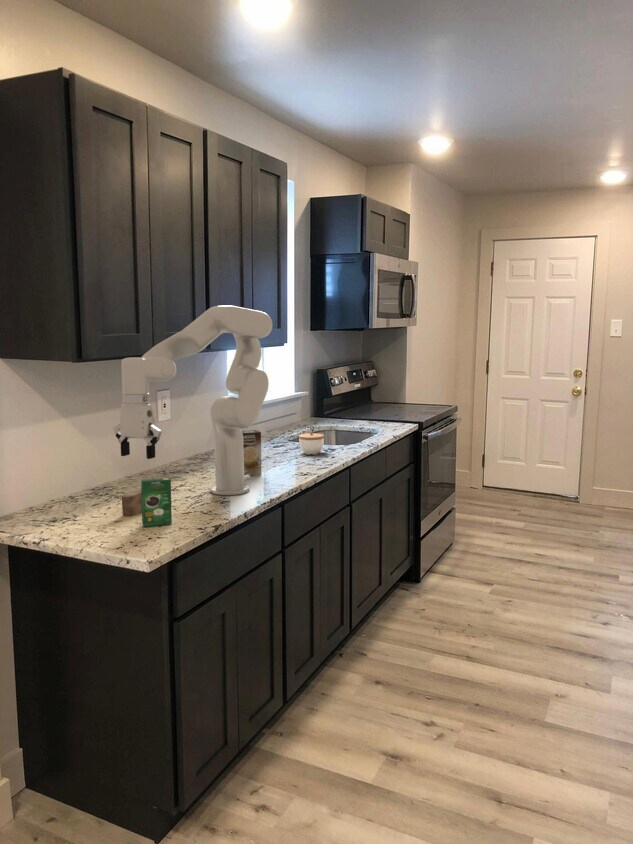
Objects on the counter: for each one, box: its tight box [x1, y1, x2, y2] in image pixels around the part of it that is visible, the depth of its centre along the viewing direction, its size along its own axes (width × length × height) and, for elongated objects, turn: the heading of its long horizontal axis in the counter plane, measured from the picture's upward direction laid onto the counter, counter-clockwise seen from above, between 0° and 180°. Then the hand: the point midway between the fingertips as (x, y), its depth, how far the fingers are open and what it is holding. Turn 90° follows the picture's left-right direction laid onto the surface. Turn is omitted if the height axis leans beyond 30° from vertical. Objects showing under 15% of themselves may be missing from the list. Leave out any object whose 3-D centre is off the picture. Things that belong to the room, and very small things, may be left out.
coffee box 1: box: [140, 477, 173, 528], centre depth 188 cm, size 8×3×13 cm, turn 111°
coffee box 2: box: [242, 429, 263, 477], centre depth 249 cm, size 9×6×16 cm
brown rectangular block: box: [121, 489, 142, 517], centre depth 204 cm, size 14×2×6 cm, turn 154°
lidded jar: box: [298, 431, 325, 455], centre depth 288 cm, size 11×11×9 cm
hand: (138, 456), depth 202 cm, fingers open, 9 cm apart
